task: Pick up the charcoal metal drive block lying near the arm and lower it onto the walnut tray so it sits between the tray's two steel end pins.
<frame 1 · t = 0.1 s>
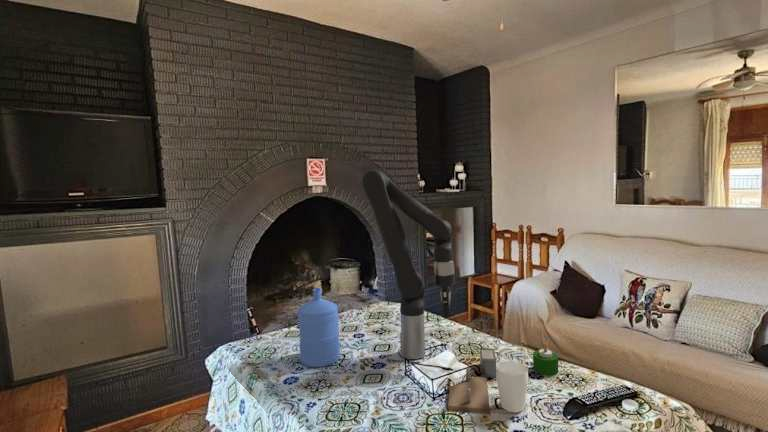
hand: (447, 313, 149), 17 cm above the table, tool pointing down, fingers open, 8 cm apart
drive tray: (468, 394, 123), on the table
cup: (512, 407, 116), on the table
water jug: (320, 359, 152), on the table
candle: (545, 370, 137), on the table
drive block: (487, 370, 138), on the table
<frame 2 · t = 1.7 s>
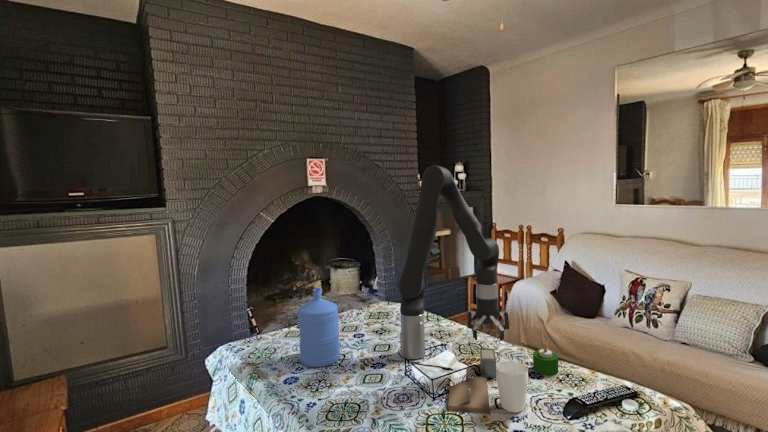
hand: (488, 339, 138), 11 cm above the table, tool pointing down, fingers open, 8 cm apart
nothing on the table moved.
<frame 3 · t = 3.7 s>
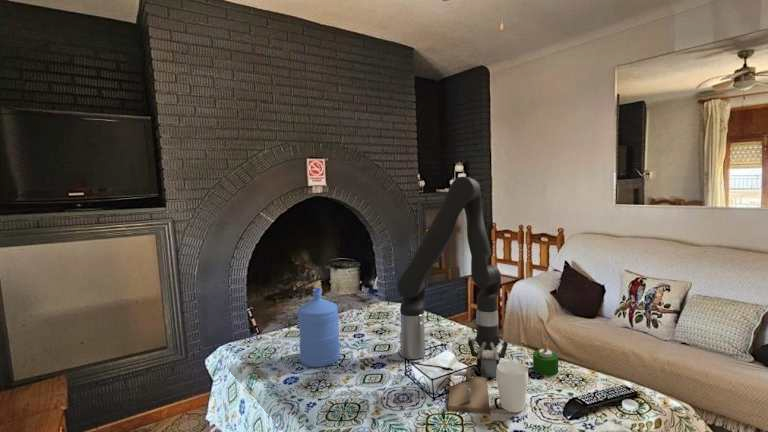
hand: (488, 367, 138), 1 cm above the table, tool pointing down, fingers closed on drive block, 5 cm apart
drive block: (487, 370, 138), on the table, touching gripper
everything else where it was.
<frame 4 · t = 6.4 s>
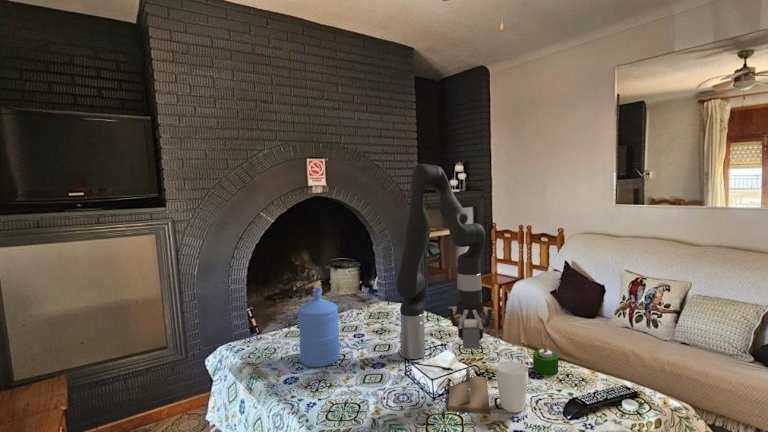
hand: (470, 339, 123), 18 cm above the table, tool pointing down, fingers closed on drive block, 5 cm apart
drive block: (470, 342, 123), point 17 cm above the table, touching gripper
everything else where it was.
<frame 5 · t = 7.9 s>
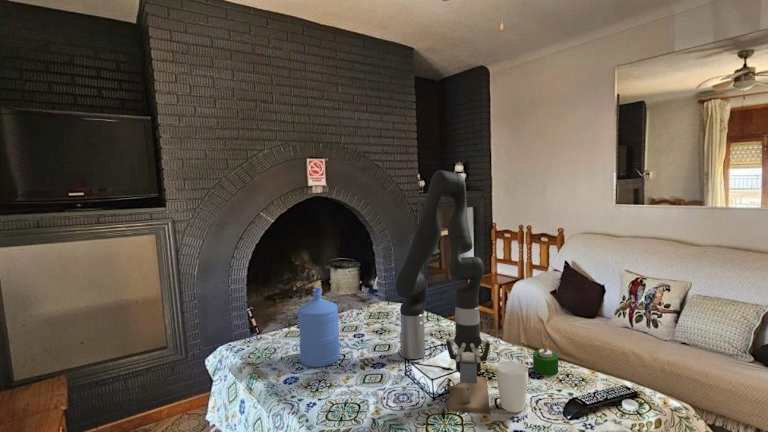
hand: (468, 371, 123), 7 cm above the table, tool pointing down, fingers closed on drive block, 5 cm apart
drive block: (468, 374, 123), point 6 cm above the table, touching gripper
everything else where it was.
when the fingers open (4 cm above the table, at t = 9.1 s): drive block drops 1 cm, resting on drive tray.
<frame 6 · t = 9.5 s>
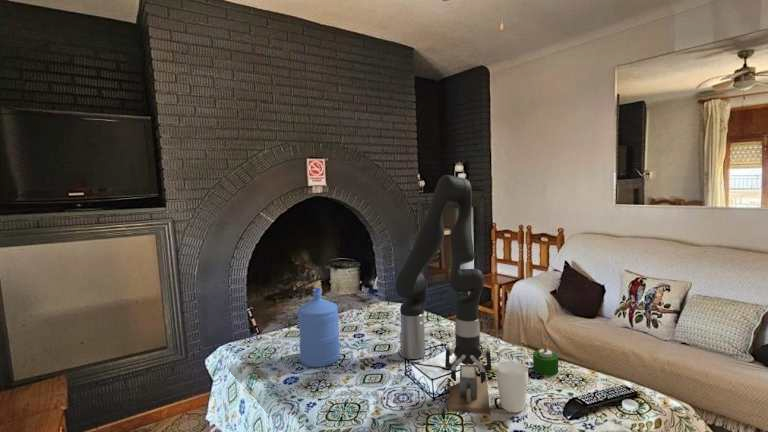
hand: (468, 381, 123), 4 cm above the table, tool pointing down, fingers open, 8 cm apart
drive block: (468, 390, 123), point 1 cm above the table, touching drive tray
everything else where it was.
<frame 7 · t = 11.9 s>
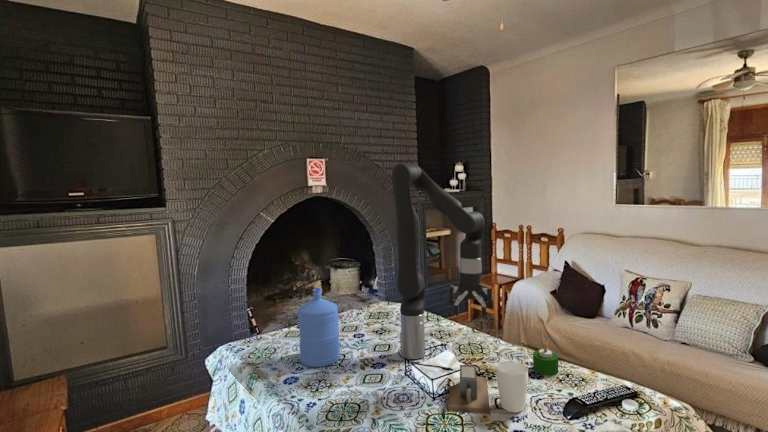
hand: (470, 316, 134), 21 cm above the table, tool pointing down, fingers open, 8 cm apart
nothing on the table moved.
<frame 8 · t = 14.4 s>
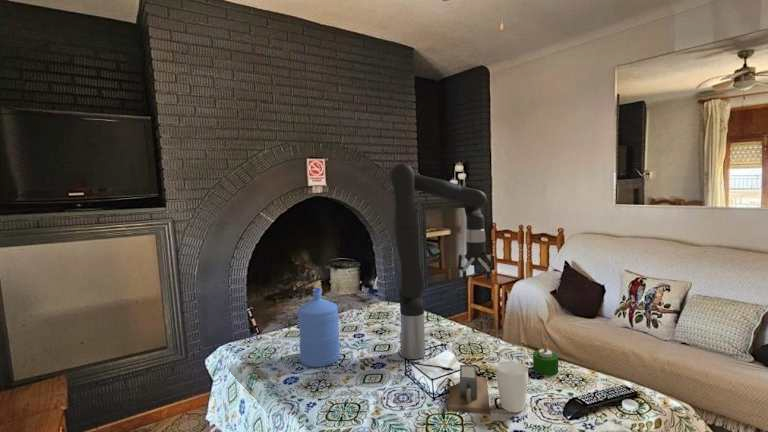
hand: (476, 280, 155), 28 cm above the table, tool pointing down, fingers open, 8 cm apart
nothing on the table moved.
at the end: drive block 0.1 cm off-centre on the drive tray, point 1.2 cm above the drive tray's base; drive block tilted 0°; the gripper is holding nothing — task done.
